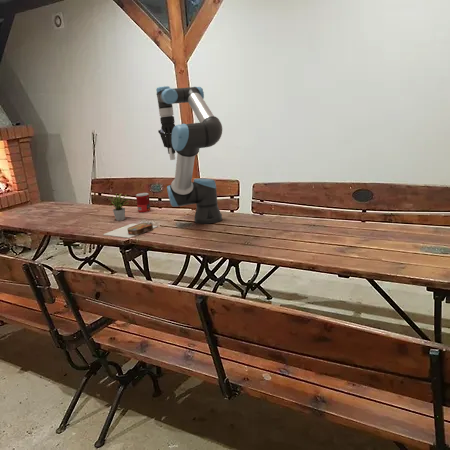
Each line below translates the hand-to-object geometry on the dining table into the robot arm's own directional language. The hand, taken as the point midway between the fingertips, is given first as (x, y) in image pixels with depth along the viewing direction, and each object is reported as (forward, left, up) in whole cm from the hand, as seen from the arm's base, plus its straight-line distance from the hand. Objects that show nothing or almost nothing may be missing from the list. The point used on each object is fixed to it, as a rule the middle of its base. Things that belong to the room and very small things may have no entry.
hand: (172, 159), depth 253 cm
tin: (-1, +29, -32) cm, 44 cm away
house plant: (+35, +13, -34) cm, 51 cm away
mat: (+10, +29, -34) cm, 46 cm away
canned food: (+35, -9, -34) cm, 50 cm away
